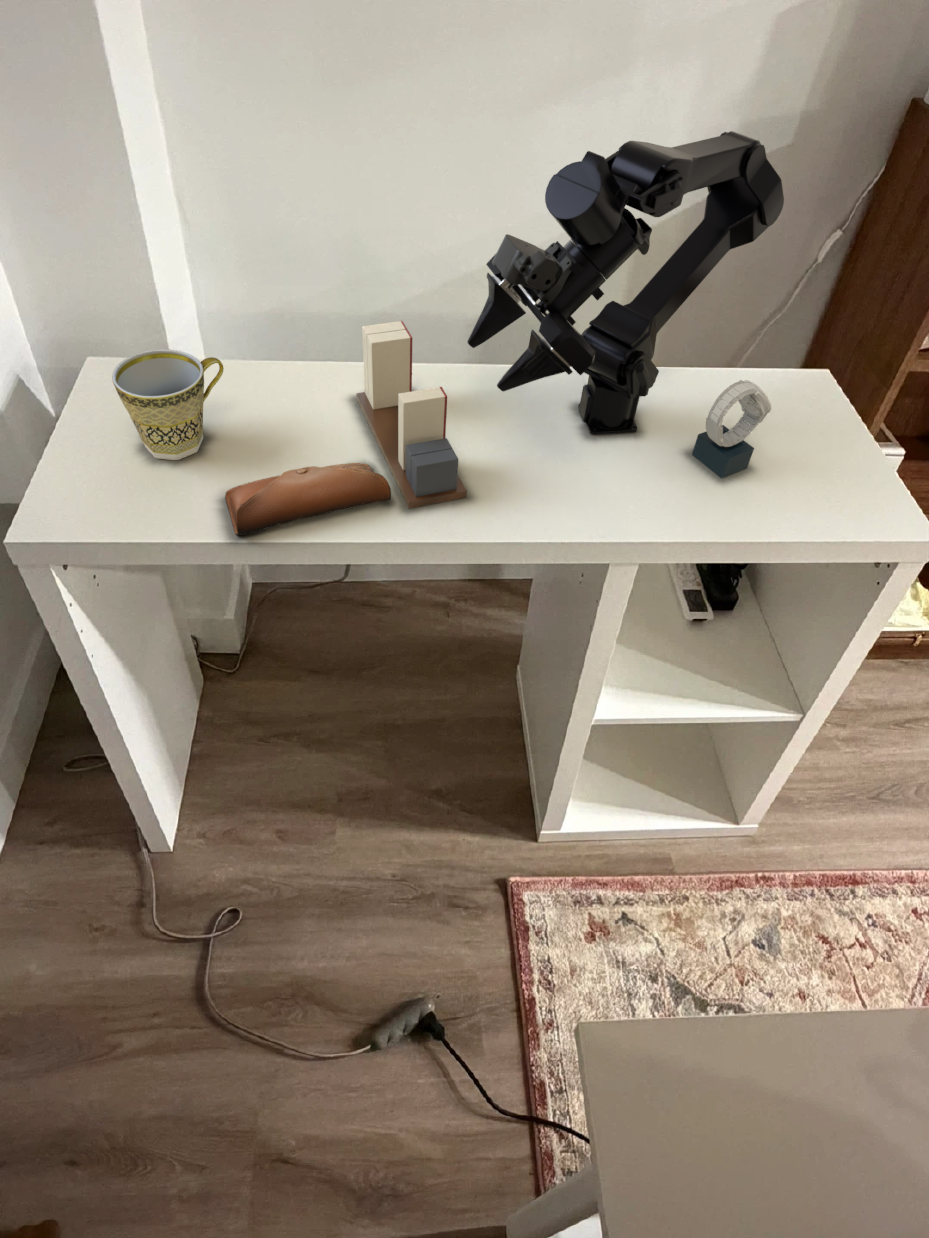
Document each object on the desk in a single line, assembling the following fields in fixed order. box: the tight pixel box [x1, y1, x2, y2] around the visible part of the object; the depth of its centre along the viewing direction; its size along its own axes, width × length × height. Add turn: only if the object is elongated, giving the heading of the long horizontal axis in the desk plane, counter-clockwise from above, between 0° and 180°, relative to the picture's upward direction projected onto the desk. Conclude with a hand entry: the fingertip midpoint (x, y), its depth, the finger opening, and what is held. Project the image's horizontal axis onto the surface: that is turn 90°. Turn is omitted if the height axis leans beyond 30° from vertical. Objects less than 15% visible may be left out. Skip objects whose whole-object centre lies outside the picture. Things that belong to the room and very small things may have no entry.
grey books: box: [406, 437, 459, 497], centre depth 100 cm, size 5×4×4 cm
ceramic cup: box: [111, 348, 224, 461], centre depth 102 cm, size 13×10×10 cm
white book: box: [398, 386, 448, 470], centre depth 101 cm, size 5×2×10 cm, turn 110°
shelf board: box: [355, 391, 468, 509], centre depth 107 cm, size 7×23×1 cm, turn 20°
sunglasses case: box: [224, 462, 392, 537], centre depth 98 cm, size 18×7×7 cm, turn 114°
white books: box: [361, 320, 413, 409], centre depth 109 cm, size 5×4×10 cm
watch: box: [691, 379, 772, 479], centre depth 105 cm, size 6×8×11 cm
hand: (484, 366), depth 97 cm, fingers open, 9 cm apart
